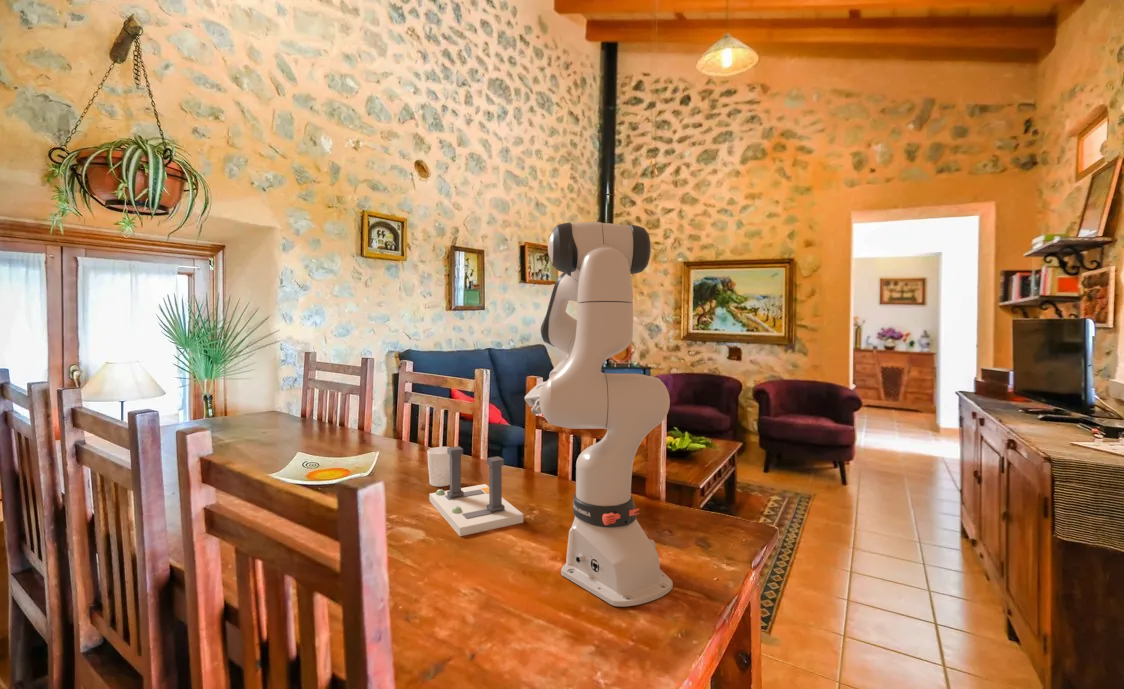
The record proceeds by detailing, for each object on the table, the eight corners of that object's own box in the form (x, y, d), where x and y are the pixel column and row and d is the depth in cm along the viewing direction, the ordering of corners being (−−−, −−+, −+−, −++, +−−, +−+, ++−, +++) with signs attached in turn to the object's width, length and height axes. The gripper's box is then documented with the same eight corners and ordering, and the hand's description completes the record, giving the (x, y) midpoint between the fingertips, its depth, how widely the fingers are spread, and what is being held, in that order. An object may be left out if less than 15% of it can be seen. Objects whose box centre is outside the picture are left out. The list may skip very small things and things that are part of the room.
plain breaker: (504, 509, 126) (504, 459, 125) (491, 512, 125) (491, 461, 124) (499, 505, 129) (499, 456, 128) (486, 507, 127) (486, 458, 126)
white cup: (451, 487, 149) (451, 453, 148) (424, 487, 149) (423, 453, 148) (457, 479, 156) (457, 446, 156) (431, 478, 157) (431, 446, 156)
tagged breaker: (464, 495, 136) (463, 448, 135) (450, 497, 134) (450, 450, 133) (460, 491, 138) (459, 446, 138) (446, 494, 137) (446, 447, 136)
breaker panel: (523, 522, 125) (523, 509, 124) (459, 536, 117) (459, 522, 116) (485, 490, 146) (485, 479, 146) (429, 500, 138) (429, 489, 138)
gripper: (537, 374, 153) (508, 405, 146) (580, 366, 137) (550, 401, 130) (549, 391, 155) (521, 422, 147) (593, 384, 139) (564, 419, 131)
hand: (535, 412), depth 138 cm, fingers closed
